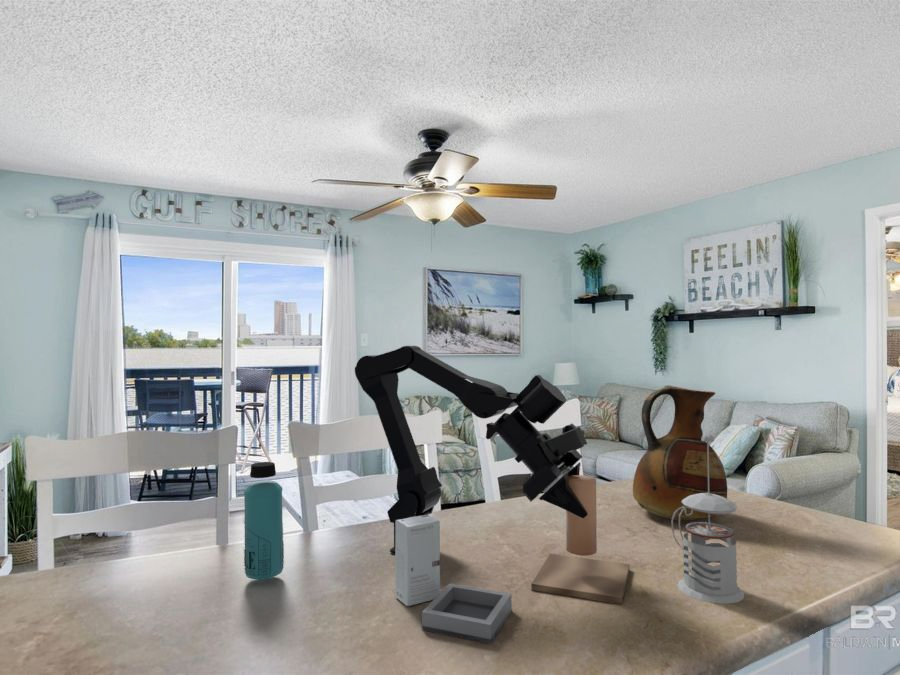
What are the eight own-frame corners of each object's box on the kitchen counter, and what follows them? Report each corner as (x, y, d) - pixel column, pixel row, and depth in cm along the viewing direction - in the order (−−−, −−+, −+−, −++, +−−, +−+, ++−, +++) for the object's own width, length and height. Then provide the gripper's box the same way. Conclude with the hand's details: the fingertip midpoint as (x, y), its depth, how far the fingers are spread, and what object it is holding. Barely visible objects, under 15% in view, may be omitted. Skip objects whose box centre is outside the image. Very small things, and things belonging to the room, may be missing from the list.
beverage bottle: (292, 575, 96) (291, 459, 97) (267, 591, 90) (267, 468, 91) (260, 571, 99) (260, 457, 99) (234, 586, 92) (234, 465, 93)
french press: (717, 609, 83) (713, 440, 83) (655, 580, 93) (653, 430, 94) (758, 595, 87) (755, 435, 88) (695, 569, 98) (693, 426, 98)
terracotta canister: (570, 555, 91) (569, 482, 92) (563, 544, 96) (562, 475, 97) (600, 555, 91) (599, 482, 92) (592, 544, 96) (591, 475, 97)
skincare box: (407, 608, 84) (407, 527, 84) (393, 597, 88) (393, 519, 88) (442, 597, 88) (441, 520, 88) (427, 587, 91) (426, 513, 92)
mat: (531, 589, 90) (531, 583, 90) (550, 558, 103) (550, 553, 103) (621, 604, 85) (621, 597, 85) (629, 569, 98) (629, 564, 98)
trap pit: (422, 629, 78) (422, 611, 78) (449, 599, 87) (449, 583, 87) (490, 643, 74) (490, 624, 74) (511, 610, 83) (511, 593, 83)
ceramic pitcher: (744, 528, 119) (742, 388, 119) (650, 529, 119) (647, 389, 120) (704, 503, 138) (702, 382, 139) (622, 503, 139) (621, 383, 139)
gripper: (541, 416, 88) (614, 495, 83) (570, 405, 104) (632, 469, 99) (495, 462, 91) (562, 540, 86) (530, 444, 108) (588, 508, 103)
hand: (589, 511), depth 93 cm, fingers closed on terracotta canister, 5 cm apart
